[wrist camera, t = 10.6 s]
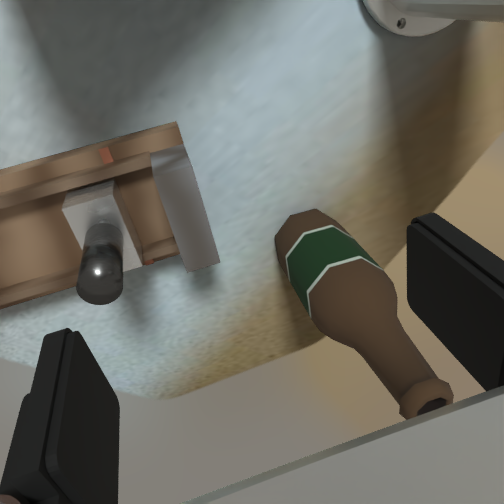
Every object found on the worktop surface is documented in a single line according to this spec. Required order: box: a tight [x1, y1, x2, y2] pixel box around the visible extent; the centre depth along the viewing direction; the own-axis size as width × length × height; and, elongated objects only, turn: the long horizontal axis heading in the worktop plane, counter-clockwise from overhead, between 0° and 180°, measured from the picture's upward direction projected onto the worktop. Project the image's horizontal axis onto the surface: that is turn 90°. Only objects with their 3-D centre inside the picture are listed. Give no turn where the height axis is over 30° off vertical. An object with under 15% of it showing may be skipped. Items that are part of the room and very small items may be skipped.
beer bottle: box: [275, 209, 454, 420], centre depth 38 cm, size 8×8×24 cm
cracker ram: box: [62, 177, 143, 305], centre depth 34 cm, size 4×7×11 cm, turn 12°
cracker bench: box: [0, 121, 220, 309], centre depth 37 cm, size 24×12×8 cm, turn 102°
